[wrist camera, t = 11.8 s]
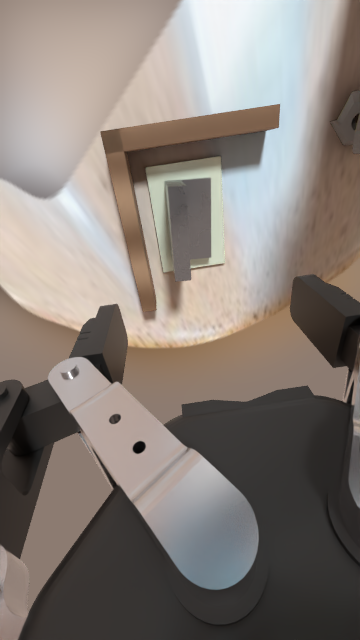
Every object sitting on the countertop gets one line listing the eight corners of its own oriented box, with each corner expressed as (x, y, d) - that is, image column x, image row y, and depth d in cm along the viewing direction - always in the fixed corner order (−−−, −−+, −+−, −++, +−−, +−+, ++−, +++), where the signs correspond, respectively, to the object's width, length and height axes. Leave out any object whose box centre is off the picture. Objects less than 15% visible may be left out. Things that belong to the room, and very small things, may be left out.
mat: (145, 167, 26) (145, 167, 26) (219, 156, 26) (220, 156, 26) (163, 271, 32) (163, 272, 32) (224, 261, 32) (225, 262, 32)
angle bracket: (164, 180, 27) (167, 187, 21) (208, 177, 27) (224, 182, 21) (171, 257, 31) (175, 281, 25) (209, 254, 31) (222, 276, 25)
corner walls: (105, 134, 24) (100, 131, 22) (266, 109, 25) (280, 103, 22) (143, 300, 34) (143, 312, 31) (260, 282, 34) (269, 292, 31)
